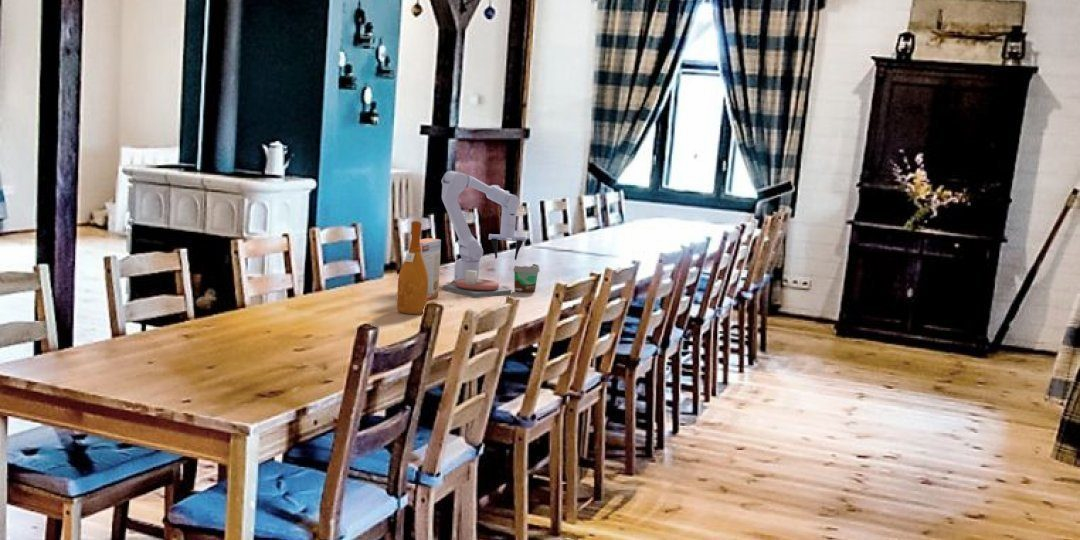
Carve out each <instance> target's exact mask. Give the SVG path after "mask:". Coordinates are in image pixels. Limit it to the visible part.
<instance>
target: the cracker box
mask: <svg viewBox="0 0 1080 540" xmlns="http://www.w3.org/2000/svg"><path fill="white" fill-rule="evenodd" d="M441 242H442V240H441V239H439V238H431V237H427V238H422V239H421V238H420V248H421V254H422V257H423V260H424V263H425V265H426V269H427V273H428V295H427V301H429V300H433V299H437V298H439V291H440V290H439V288H440V287H439V286H440V271H441V270H440V268H441V247H442V245H441V244H442V243H441ZM410 246H411V241H409V242H408V249H409V248H410Z"/></svg>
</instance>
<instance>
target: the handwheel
mask: <svg viewBox="0 0 1080 540" xmlns="http://www.w3.org/2000/svg"><path fill="white" fill-rule="evenodd" d="M455 284H456V286H457V287H460V288H464V289H471V290H495V289H498V288H499V287H500V283H499V282H497V281H495V280H489V279H483V278H482V279H481V278H478V279H477V271H475V270H466V279H459V280H456V282H455Z"/></svg>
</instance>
